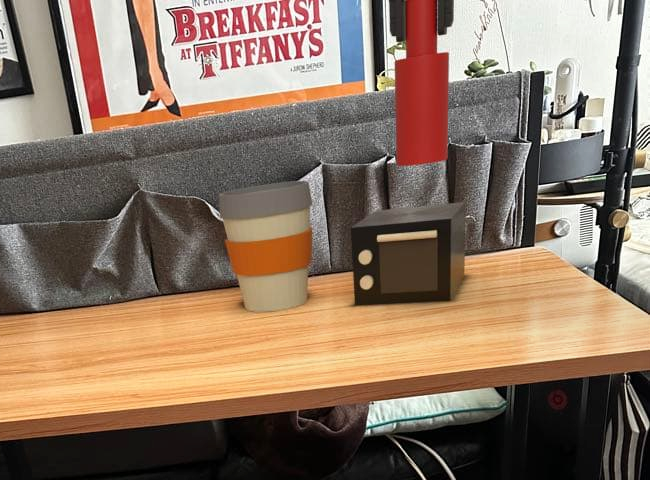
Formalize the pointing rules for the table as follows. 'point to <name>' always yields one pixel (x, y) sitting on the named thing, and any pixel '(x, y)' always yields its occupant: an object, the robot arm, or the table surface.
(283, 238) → the reusable coffee cup
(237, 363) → the table surface
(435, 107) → the ketchup bottle
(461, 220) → the toaster oven
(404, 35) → the robot arm
